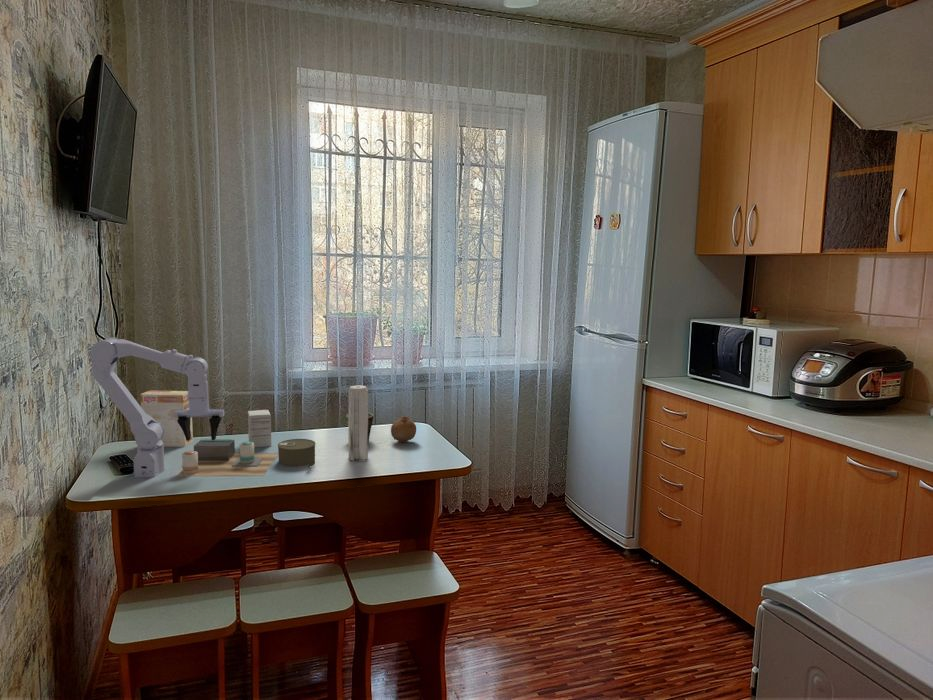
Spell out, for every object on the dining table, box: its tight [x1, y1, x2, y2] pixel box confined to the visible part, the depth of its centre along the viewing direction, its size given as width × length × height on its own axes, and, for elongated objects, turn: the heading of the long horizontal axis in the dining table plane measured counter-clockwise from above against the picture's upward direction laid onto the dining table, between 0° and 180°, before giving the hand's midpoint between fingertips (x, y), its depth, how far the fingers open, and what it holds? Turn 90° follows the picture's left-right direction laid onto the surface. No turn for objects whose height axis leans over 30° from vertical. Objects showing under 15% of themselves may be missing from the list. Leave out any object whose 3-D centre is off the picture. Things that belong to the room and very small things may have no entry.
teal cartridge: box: [239, 441, 255, 464], centre depth 208 cm, size 4×4×6 cm
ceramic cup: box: [345, 412, 374, 443], centre depth 237 cm, size 13×10×10 cm
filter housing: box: [193, 438, 236, 461], centre depth 213 cm, size 7×11×5 cm
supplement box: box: [247, 409, 272, 448], centre depth 228 cm, size 7×7×13 cm
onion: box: [390, 415, 417, 443], centre depth 238 cm, size 10×9×10 cm
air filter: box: [347, 385, 369, 462], centre depth 217 cm, size 6×6×25 cm
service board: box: [176, 452, 279, 477], centre depth 207 cm, size 23×26×1 cm
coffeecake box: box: [140, 389, 194, 448], centre depth 226 cm, size 15×7×20 cm, turn 89°
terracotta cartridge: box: [181, 450, 198, 474], centre depth 198 cm, size 4×4×6 cm
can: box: [277, 438, 316, 468], centre depth 211 cm, size 12×12×7 cm
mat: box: [232, 458, 263, 466], centre depth 209 cm, size 8×8×1 cm
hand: (201, 439), depth 200 cm, fingers open, 7 cm apart
